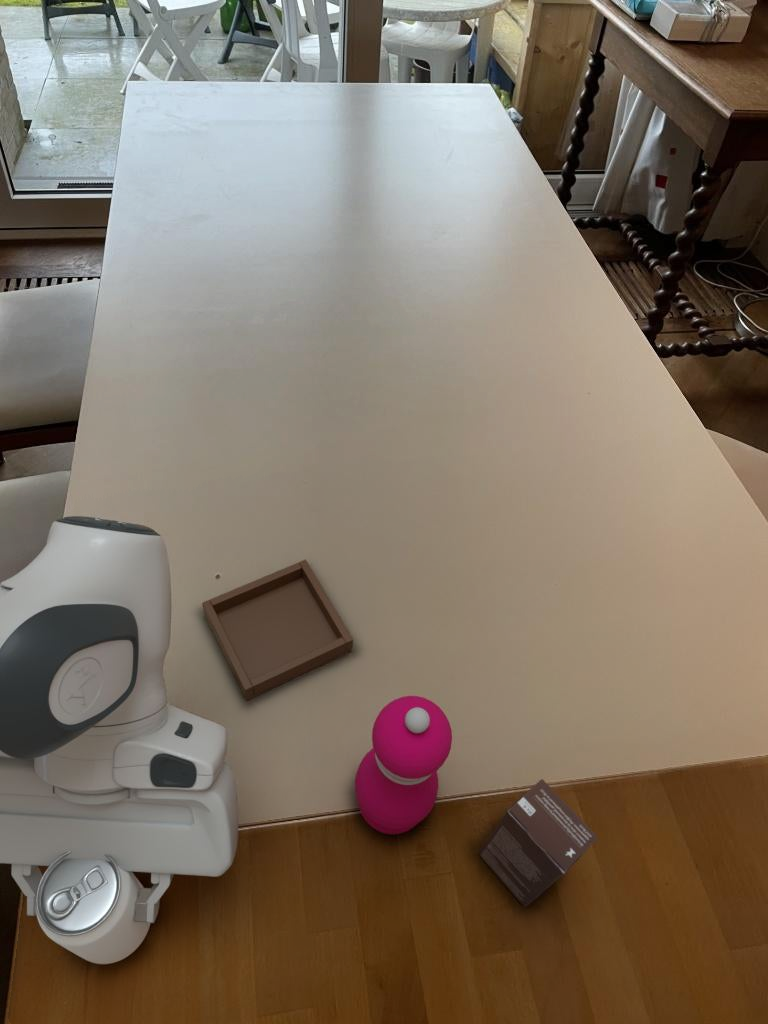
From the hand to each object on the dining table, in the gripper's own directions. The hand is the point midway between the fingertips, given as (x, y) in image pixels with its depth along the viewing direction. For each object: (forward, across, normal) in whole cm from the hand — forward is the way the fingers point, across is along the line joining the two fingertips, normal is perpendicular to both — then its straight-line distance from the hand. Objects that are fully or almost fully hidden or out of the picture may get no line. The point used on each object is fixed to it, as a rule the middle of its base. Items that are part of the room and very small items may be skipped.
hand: (94, 914), depth 58 cm
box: (0, +34, +10) cm, 35 cm away
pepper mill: (-4, +22, +13) cm, 26 cm away
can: (+4, 0, +5) cm, 7 cm away
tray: (-15, +10, +24) cm, 30 cm away
